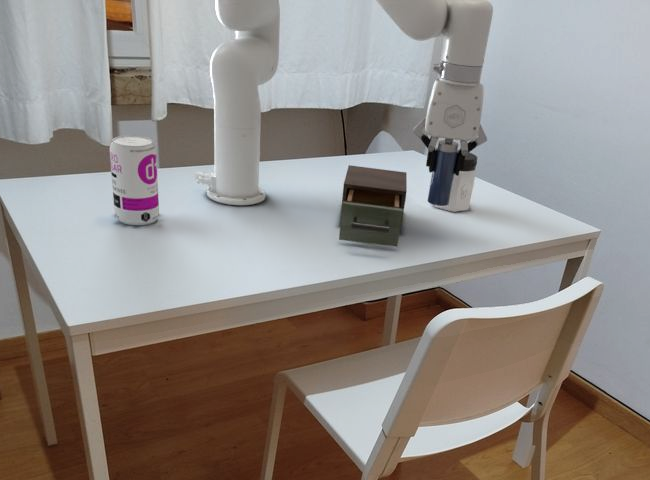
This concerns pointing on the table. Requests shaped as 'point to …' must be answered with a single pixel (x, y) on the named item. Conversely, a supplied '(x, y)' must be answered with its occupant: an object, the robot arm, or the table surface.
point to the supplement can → (134, 180)
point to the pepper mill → (443, 172)
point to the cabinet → (375, 183)
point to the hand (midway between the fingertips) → (443, 171)
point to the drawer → (371, 218)
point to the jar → (462, 186)
